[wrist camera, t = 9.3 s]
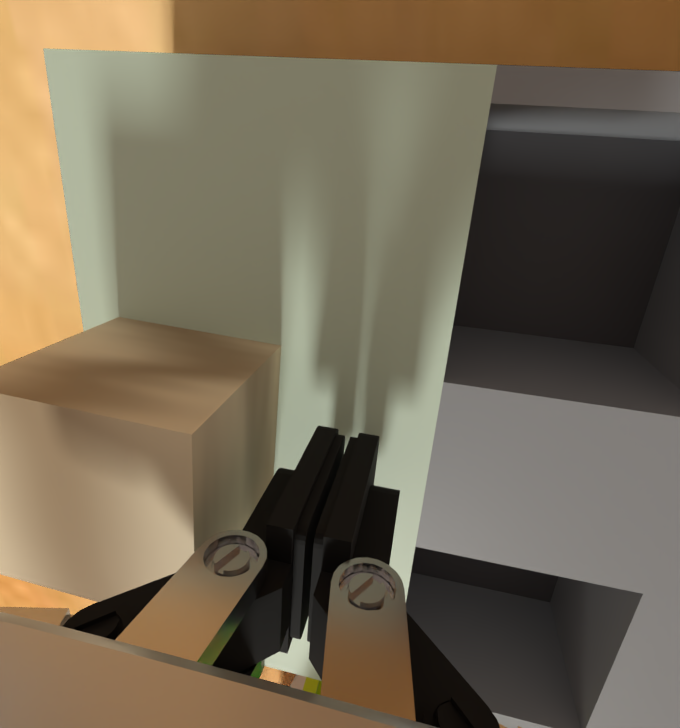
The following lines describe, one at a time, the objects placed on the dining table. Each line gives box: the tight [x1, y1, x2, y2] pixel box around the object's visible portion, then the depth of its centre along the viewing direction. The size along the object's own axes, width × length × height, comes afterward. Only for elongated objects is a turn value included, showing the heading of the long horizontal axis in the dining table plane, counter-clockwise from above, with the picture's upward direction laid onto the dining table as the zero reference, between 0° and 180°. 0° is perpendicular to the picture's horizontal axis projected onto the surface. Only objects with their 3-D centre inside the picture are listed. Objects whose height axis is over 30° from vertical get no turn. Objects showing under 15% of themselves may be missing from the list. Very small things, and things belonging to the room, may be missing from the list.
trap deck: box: [43, 49, 680, 728], centre depth 16 cm, size 28×20×6 cm
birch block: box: [0, 317, 281, 602], centre depth 12 cm, size 5×5×5 cm
